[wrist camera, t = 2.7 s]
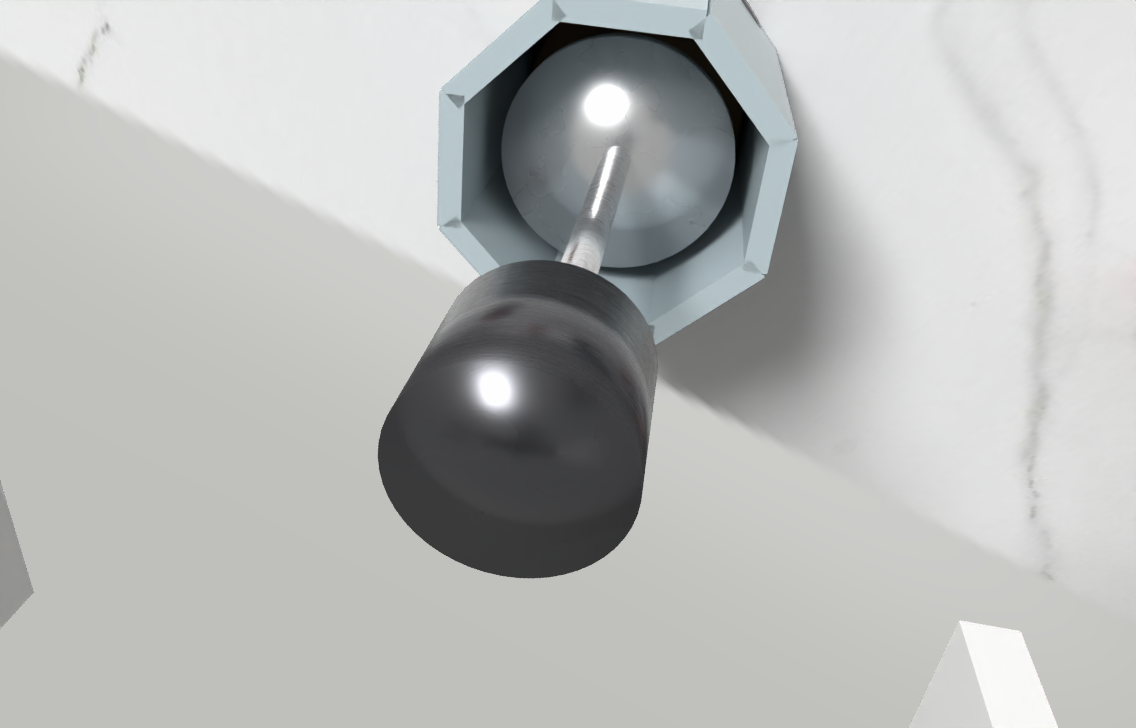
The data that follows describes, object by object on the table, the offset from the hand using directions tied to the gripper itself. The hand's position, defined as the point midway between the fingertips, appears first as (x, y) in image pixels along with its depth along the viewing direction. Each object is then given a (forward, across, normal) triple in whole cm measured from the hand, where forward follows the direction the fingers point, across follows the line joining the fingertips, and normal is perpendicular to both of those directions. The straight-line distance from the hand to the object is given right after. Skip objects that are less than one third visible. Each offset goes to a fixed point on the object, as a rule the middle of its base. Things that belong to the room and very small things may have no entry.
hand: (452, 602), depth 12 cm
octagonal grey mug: (+31, 0, -2) cm, 31 cm away
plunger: (+22, 0, 0) cm, 22 cm away
